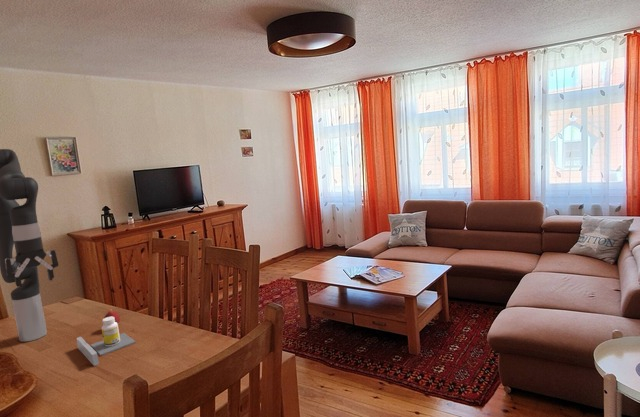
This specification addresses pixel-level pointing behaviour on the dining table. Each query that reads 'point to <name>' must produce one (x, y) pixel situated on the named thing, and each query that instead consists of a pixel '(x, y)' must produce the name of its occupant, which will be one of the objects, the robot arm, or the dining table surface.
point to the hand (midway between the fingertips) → (35, 283)
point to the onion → (113, 315)
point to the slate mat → (103, 349)
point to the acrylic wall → (87, 351)
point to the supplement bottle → (110, 331)
